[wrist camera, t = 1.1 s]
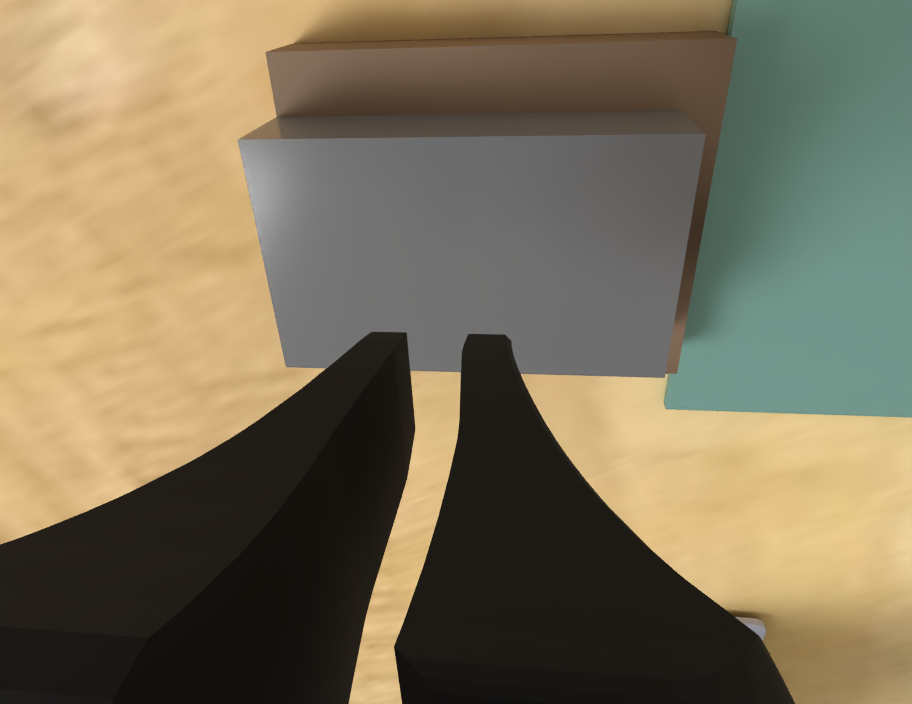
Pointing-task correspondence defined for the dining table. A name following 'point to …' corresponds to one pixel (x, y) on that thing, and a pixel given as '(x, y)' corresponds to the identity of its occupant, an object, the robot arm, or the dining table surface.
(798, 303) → the teal mat
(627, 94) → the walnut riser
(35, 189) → the dining table surface
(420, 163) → the slate tile
